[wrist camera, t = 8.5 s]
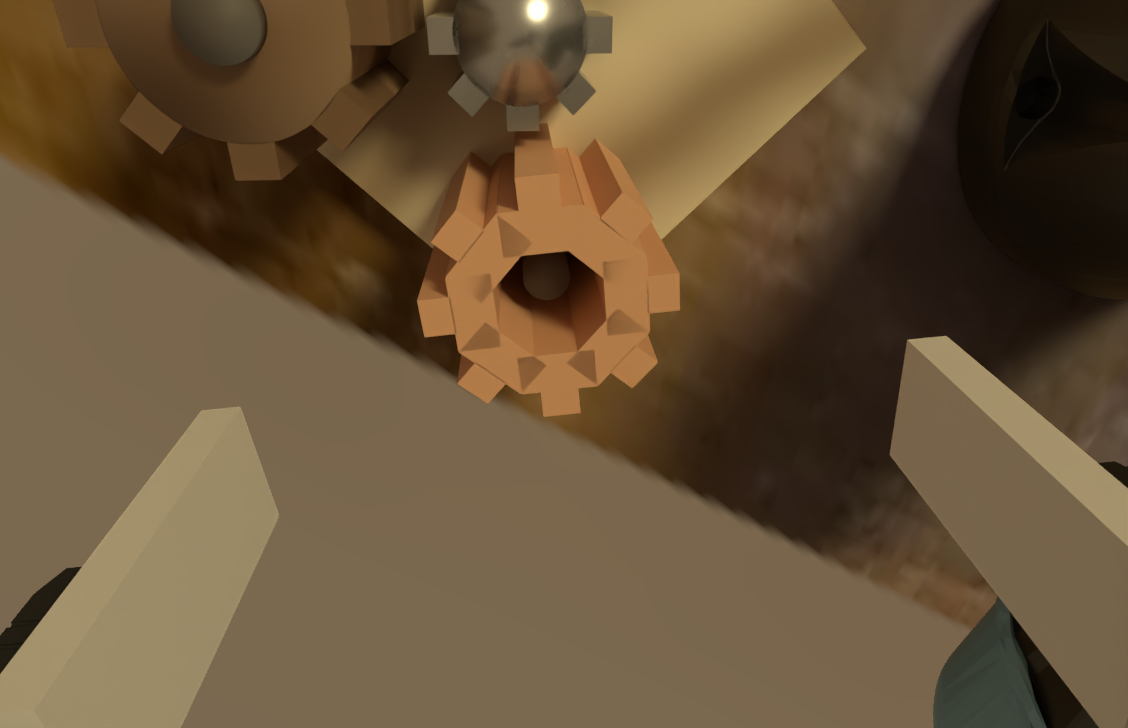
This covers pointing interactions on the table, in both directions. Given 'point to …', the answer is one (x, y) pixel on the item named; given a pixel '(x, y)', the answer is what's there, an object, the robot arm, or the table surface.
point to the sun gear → (520, 53)
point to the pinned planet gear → (250, 70)
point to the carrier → (615, 108)
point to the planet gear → (536, 226)
